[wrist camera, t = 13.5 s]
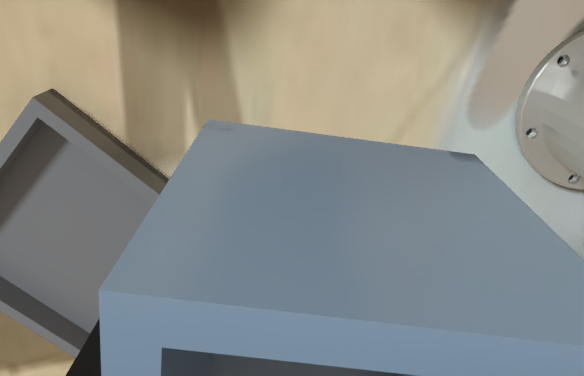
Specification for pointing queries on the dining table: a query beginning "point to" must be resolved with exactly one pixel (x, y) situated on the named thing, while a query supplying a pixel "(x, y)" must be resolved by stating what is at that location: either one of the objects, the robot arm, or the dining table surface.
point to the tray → (65, 216)
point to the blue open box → (339, 267)
